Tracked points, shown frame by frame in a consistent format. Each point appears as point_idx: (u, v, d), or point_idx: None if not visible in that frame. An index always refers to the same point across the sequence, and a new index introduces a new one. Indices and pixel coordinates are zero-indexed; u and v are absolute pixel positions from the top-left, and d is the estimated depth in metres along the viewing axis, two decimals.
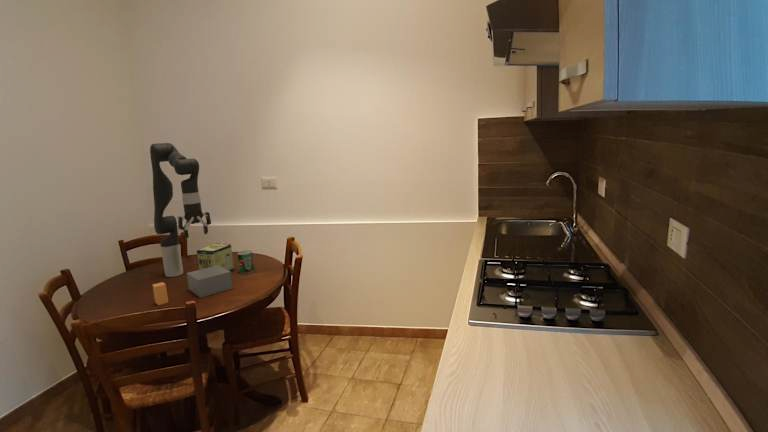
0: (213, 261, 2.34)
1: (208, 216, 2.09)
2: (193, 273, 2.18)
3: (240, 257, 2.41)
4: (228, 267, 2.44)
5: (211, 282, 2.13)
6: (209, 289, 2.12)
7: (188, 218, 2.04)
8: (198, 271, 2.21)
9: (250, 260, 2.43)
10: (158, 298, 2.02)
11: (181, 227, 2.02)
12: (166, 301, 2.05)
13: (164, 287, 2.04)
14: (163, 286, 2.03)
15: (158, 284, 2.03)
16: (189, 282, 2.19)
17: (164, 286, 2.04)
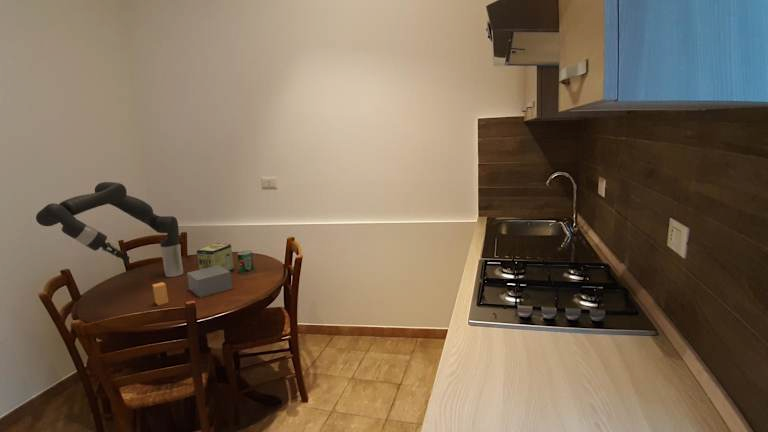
0: (213, 261, 2.34)
1: None
2: (193, 273, 2.18)
3: (240, 257, 2.41)
4: (228, 267, 2.44)
5: (211, 282, 2.12)
6: (208, 289, 2.12)
7: None
8: (198, 271, 2.21)
9: (250, 260, 2.43)
10: (158, 298, 2.02)
11: None
12: (166, 301, 2.05)
13: (164, 287, 2.04)
14: (163, 286, 2.03)
15: (158, 284, 2.03)
16: (189, 282, 2.19)
17: (164, 286, 2.04)
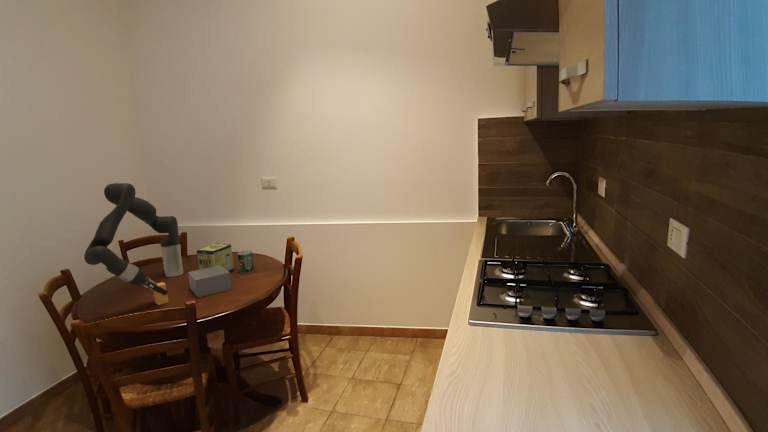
0: (213, 261, 2.34)
1: (151, 289, 1.97)
2: (194, 273, 2.19)
3: (240, 257, 2.41)
4: (228, 267, 2.44)
5: (209, 282, 2.12)
6: (207, 289, 2.12)
7: None
8: (199, 271, 2.22)
9: (250, 260, 2.43)
10: (158, 298, 2.02)
11: None
12: (166, 301, 2.05)
13: (164, 287, 2.04)
14: (163, 286, 2.03)
15: (158, 284, 2.03)
16: (190, 281, 2.20)
17: (164, 286, 2.04)
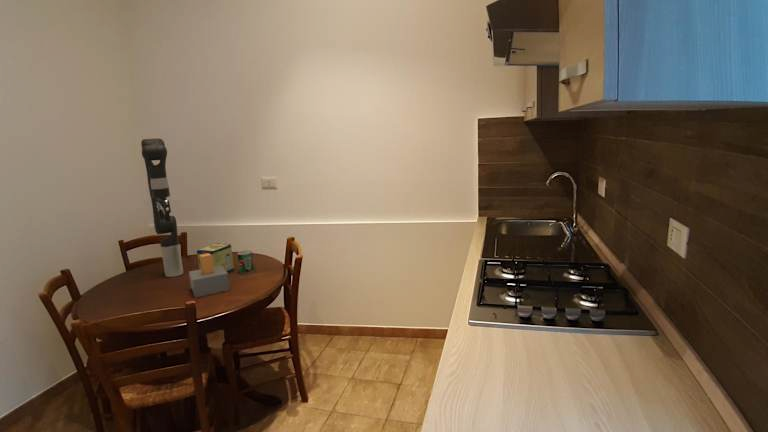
0: (213, 261, 2.34)
1: (163, 205, 2.07)
2: (194, 272, 2.20)
3: (240, 257, 2.41)
4: (228, 267, 2.44)
5: (207, 283, 2.12)
6: (204, 289, 2.12)
7: None
8: (200, 270, 2.22)
9: (250, 260, 2.43)
10: (205, 267, 2.16)
11: (156, 208, 2.17)
12: (212, 270, 2.18)
13: (210, 257, 2.17)
14: (209, 256, 2.17)
15: (204, 255, 2.17)
16: (190, 281, 2.21)
17: (210, 256, 2.17)
